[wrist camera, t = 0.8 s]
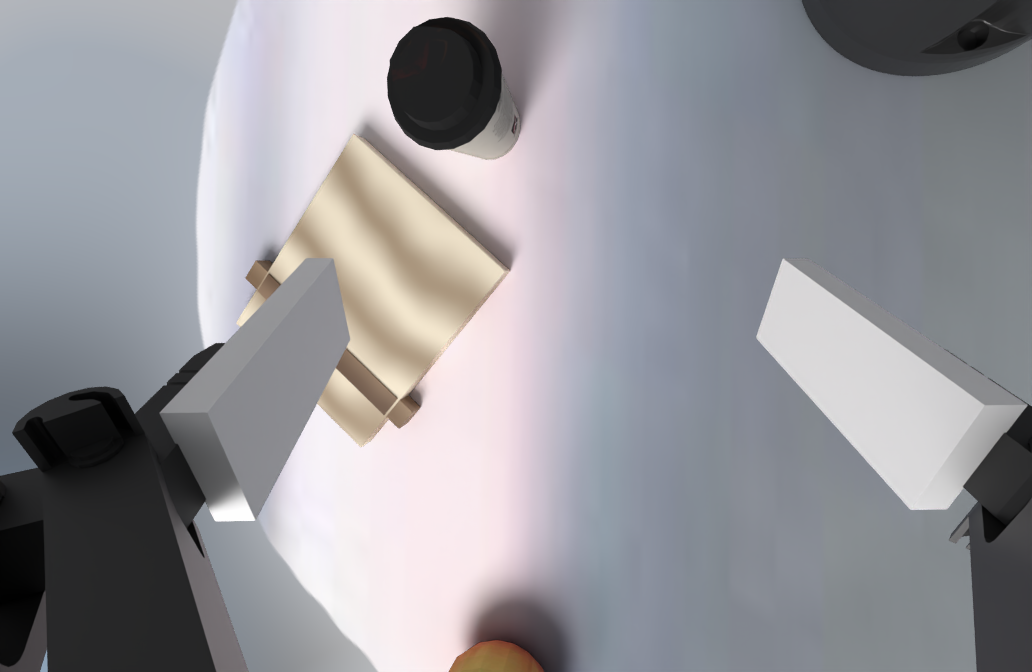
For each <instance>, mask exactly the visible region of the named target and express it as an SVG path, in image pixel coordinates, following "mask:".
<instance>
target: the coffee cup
mask: <svg viewBox="0 0 1032 672" xmlns="http://www.w3.org/2000/svg"><path fill="white" fill-rule="evenodd" d="M387 87H388V99H389V102H390V105H391V108H392V111H393V114H394V117H395V120H396V121H397V123H398V124H399V126H400V127H401V129H402V130H403V132H404V133H405V134H406V135H407V136H408V137H410V138H411V139H412V140H413V141H415V142H416V143H417V144H419V145H421V146H424V147H427V148H431V149H434V150H446V149H448V150H452V151H455V152H459V153H463V154H466V155H470V156H474V157H478V158H481V159H485V160H492V159H497V158H500V157H502V156H504V155H505V154H507V153H508V152H509V151H510V150H511V149H512V148H513V146H514V145H515V143H516V142H517V139H518V136H519V133H520V118H519V115H518V111H517V109H516V106H515V104H514V102H513V99H512V97H511V94H510V92H509V90H508V87H507V85H506V82H505V80H504V78H503V75H502V69H501V65H500V62H499V59H498V55H497V52H496V49H495V47H494V46H493V44H492V43H491V42H490V40H489V39H488V37H487V36H486V34H485V33H484V32H483V31H481V30H480V29H478V28H477V27H476V26H474V25H473V24H471V23H470V22H467V21H463V20H459V19H455V18H450V17H444V18H437V19H430V20H428V21H426V22H424V23H422V24H420V25H418V26H416V27H413V28H412V29H411V30H410V31H409V32H408V33H407V34H406V35H405V36H404V37H403V38H402V39H401V40H400V41H399V43H398V45H397V47H396V49H395V51H394V53H393V55H392V57H391V59H390V67H389V72H388V76H387Z"/></svg>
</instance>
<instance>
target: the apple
mask: <svg viewBox="0 0 1032 672" xmlns="http://www.w3.org/2000/svg"><path fill="white" fill-rule="evenodd" d="M449 672H544V670H543V668H542V667H541V666H540V664H539V663H538V662H537V661H536V660H535V659H534V658H533V657H532V656H531V655H530V654H529V653H528V651H526V650H524V649H522V648H521V647H519V646H517V645H515V644H514V643H510V642H505V641H501V640H493V641H486V642H480V643H478V644H476V645H475V646H473V647H472V648H470V649H469V650H467V651H466V652H464V653H463V654H461V655H460V656H458V657H457V658H456V660H455V661H454V663H453V665H452V667H451V668H450V670H449Z"/></svg>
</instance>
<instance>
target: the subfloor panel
mask: <svg viewBox="0 0 1032 672" xmlns="http://www.w3.org/2000/svg"><path fill="white" fill-rule="evenodd" d="M306 258H333V259H334V263H335V268H336V273H337V278H338V283H339V287H340V292H341V297H342V302H343V307H344V311H345V316H346V321H347V326H348V330H349V335H350V341H349V343H348V345H347V347H346V349H345V351H344V353H343V355H342V357H341V359H340V360H339V362H338V364H337V366H336V368H335V370H334V372H333V374H332V376H331V378H330V380H329V381H328V383H327V385H326V387H325V389H324V391H323V393H322V395H321V397H320V399H319V400H318V402H317V404H318V405H319V406H320V407H321V408H322V409H323V410H324V411H325V412H326V413H327V414H328V415H329V416H330V417H331V418H332V419H333V420H334V421H335V422H336V423H337V424H338V425H339V426H340V427H341V428H342V429H343V430H344V431H345V432H346V433H347V434H348V435H349V436H350V437H351V438H352V439H353V440H354V441H355V442H356V443H357V444H358V445H359V446H360V447H362V446H364V445H365V444H367V443H368V442H370V441H371V440H372V439H373V438H374V436H375V435H376V434H377V433H378V432H379V430H380V429H381V428H382V427H383V425H384V424H385V423H386V422H387V421H388V419H389V420H390V421H391V422H393V423H394V424H395V425H396V426H397V427H398V428H401V427H402V426H404V425H405V424H407V423H408V422H409V421H410V419H411V418H412V417H413V416H414V415H415V413H416V412H417V411H418V410H419V409H420V408H421V407H420V406H419V405H418V404H417V403H416V402H415V401H414V400H413V399H412V398H411V397H410V396H409V394H410V392H411V391H412V390H413V389H414V388H415V386H416V385H417V384H418V383H419V382H420V380H421V379H422V378H423V377H424V375H425V374H426V373H427V372H428V371H429V369H430V368H431V367H432V366H433V364H434V363H435V362H436V361H437V360H438V358H439V357H440V356H441V355H442V353H443V352H444V351H445V350H446V349H447V347H448V346H449V345H450V344H451V342H452V341H453V340H454V339H455V338H456V336H457V335H458V334H459V333H460V332H461V330H462V329H463V328H464V327H465V325H466V324H467V323H468V322H469V321H470V319H471V318H472V317H473V316H474V314H475V313H476V312H477V311H478V310H479V308H480V307H481V306H482V305H483V303H484V302H485V301H486V300H487V299H488V297H489V296H490V295H491V294H492V293H493V291H494V290H495V289H496V288H497V286H498V285H499V284H500V283H501V282H502V280H503V279H504V278H505V277H506V275H507V274H508V273H509V272H510V270H509V269H508V268H507V267H506V266H504V265H503V264H502V263H501V262H500V261H499V260H498V259H497V258H496V257H495V256H493V255H492V254H491V253H490V252H489V251H488V250H487V249H486V248H485V247H483V246H482V245H481V244H480V243H479V242H478V241H477V240H476V239H475V238H474V237H472V236H471V235H470V234H469V233H468V232H467V231H466V230H465V229H464V228H463V227H461V226H460V225H459V224H458V223H457V222H456V221H455V220H454V219H453V218H451V217H450V216H449V215H448V214H447V213H446V212H445V211H444V210H443V209H442V208H440V207H439V206H438V205H437V204H436V203H435V202H434V201H433V200H432V199H431V198H429V197H428V196H427V195H426V194H425V193H424V192H423V191H422V190H421V189H419V188H418V187H417V186H416V185H415V184H414V183H413V182H412V181H411V180H410V179H408V178H407V177H406V176H405V175H404V174H403V173H402V172H401V171H400V170H399V169H397V168H396V167H395V166H394V165H393V164H392V163H391V162H390V161H389V160H387V159H386V158H385V157H384V156H383V155H382V154H381V153H380V152H379V151H378V150H376V149H375V148H374V147H373V146H372V145H371V144H370V143H369V142H368V141H367V140H365V139H364V138H362V137H359V136H357V135H355V134H353V136H352V137H351V139H350V140H349V142H348V144H347V145H346V147H345V148H344V150H343V152H342V153H341V155H340V156H339V158H338V160H337V161H336V163H335V165H334V166H333V168H332V169H331V171H330V173H329V174H328V176H327V177H326V179H325V181H324V182H323V184H322V185H321V187H320V189H319V190H318V192H317V194H316V195H315V197H314V198H313V200H312V202H311V203H310V205H309V206H308V208H307V210H306V211H305V213H304V215H303V216H302V218H301V219H300V221H299V223H298V224H297V226H296V227H295V229H294V231H293V232H292V234H291V235H290V237H289V239H288V240H287V242H286V244H285V245H284V247H283V248H282V250H281V252H280V253H279V255H278V256H277V258H276V260H275V261H274V263H273V264H272V263H271V262H270V261H255V263H254V265H253V266H252V268H251V270H250V271H249V273H248V275H247V276H246V279H247V280H248V281H249V282H250V283H251V284H252V285H253V286H254V287H255V288H256V289H257V290H256V292H255V293H254V295H253V297H252V298H251V300H250V302H249V303H248V305H247V306H246V308H245V310H244V311H243V313H242V314H241V316H240V318H239V319H238V321H237V324H238V325H239V326H240V327H241V326H242V325H243V324H244V323H245V322H246V321H247V320H248V319H249V318H250V317H251V316H252V315H253V314H254V313H255V312H256V311H257V310H258V308H259V307H260V306H261V305H262V304H263V303H264V302H265V301H266V300H267V299H268V298H269V297H270V296H271V295H272V294H273V293H274V292H275V291H276V290H277V288H278V287H279V286H280V285H281V284H282V283H283V282H284V281H285V280H286V279H287V278H288V277H289V276H290V275H291V274H292V273H293V272H294V271H295V270H296V268H297V267H298V266H299V265H300V264H301V263H302V262H303V261H304V260H305V259H306Z"/></svg>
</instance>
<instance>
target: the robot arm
mask: <svg viewBox="0 0 1032 672" xmlns="http://www.w3.org/2000/svg"><path fill="white" fill-rule="evenodd" d="M802 2H803V5H804V8H805V10H806V13H807V15H808V17H809V19H810V21H811V23H812V24H813V26H814V27H815V29H816V30H817V32H818V33H819V34H820V35H821V37H822V38H823V39H824V40H825V41H826V42H827V43H828V44H829V45H830V46H831V47H832V48H833V49H835V50H836V51H837V52H838V53H840V54H841V55H843V56H844V57H846V58H847V59H849V60H851V61H852V62H854V63H857V64H859V65H861V66H863V67H866V68H869V69H871V70H875V71H879V72H882V73H888V74H893V75H902V76H929V75H938V74H945V73H950V72H955V71H959V70H963V69H967V68H970V67H973V66H976V65H979V64H982V63H985V62H987V61H989V60H992V59H994V58H997V57H999V56H1001V55H1003V54H1005V53H1007V52H1009V51H1011V50H1012V49H1014V48H1016V47H1018V46H1020V45H1021V44H1023V43H1025V42H1027V41H1028V40H1030V39H1032V0H802ZM756 338H757V339H758V340H759V342H760V343H761V344H762V345H763V346H764V347H765V348H766V349H767V350H768V352H769V353H770V354H771V355H772V356H773V357H774V358H775V359H776V360H777V362H778V363H779V364H780V365H781V366H782V367H783V368H784V369H785V371H786V372H787V373H788V374H789V375H790V376H791V377H792V378H793V379H794V381H795V382H796V383H797V384H798V385H799V386H800V387H801V388H802V389H803V391H804V392H805V393H806V394H807V395H808V396H809V397H810V398H811V399H812V401H813V402H814V403H815V404H816V405H817V406H818V407H819V408H820V409H821V411H822V412H823V413H824V414H825V415H826V416H827V417H828V418H829V419H830V421H831V422H832V423H833V424H834V425H835V426H836V427H837V428H838V430H839V431H840V432H841V433H842V434H843V435H844V436H845V437H846V438H847V440H848V441H849V442H850V443H851V444H852V445H853V446H854V447H855V448H856V450H857V451H858V452H859V453H860V454H861V455H862V456H863V457H864V458H865V460H866V461H867V462H868V463H869V464H870V465H871V466H872V467H873V468H874V470H875V471H876V472H877V473H878V474H879V475H880V476H881V477H882V478H883V480H884V481H885V482H886V483H887V484H888V485H889V486H890V487H891V489H892V490H893V491H894V492H895V493H896V494H897V495H898V496H899V497H900V499H901V500H902V501H903V502H904V503H905V504H906V505H907V506H908V507H909V509H910V510H930V509H948V507H949V506H950V505H951V504H952V502H953V501H954V500H955V498H956V497H957V496H958V495H959V493H960V492H961V491H962V489H963V488H965V489H966V490H967V491H968V492H969V493H970V494H971V495H972V496H973V497H974V498H975V499H976V500H978V502H977V503H976V504H975V506H974V507H973V508H972V509H971V511H970V512H969V513H968V514H967V515H966V517H965V518H964V519H963V520H962V522H961V523H960V524H959V525H958V526H957V528H956V529H955V530H954V531H953V533H952V534H951V536H950V539H949V541H951V542H953V543H957V541H958V540H959V539H960V538H961V537H963V536H970V543H969V544H968V545H967V547H966V548H967V549H969V550H970V554H971V572H972V591H973V609H974V627H975V646H976V664H977V672H1032V406H1030V405H1029V404H1027V403H1026V402H1024V401H1023V400H1021V399H1020V398H1018V397H1017V396H1015V395H1013V394H1012V393H1010V392H1009V391H1007V390H1006V389H1004V388H1003V387H1001V386H1000V385H998V384H997V383H995V382H994V381H992V380H991V379H989V378H987V377H985V376H984V375H983V374H982V373H980V372H979V371H977V370H976V369H974V368H973V367H971V366H969V365H967V363H965V362H964V361H962V360H961V359H959V358H958V357H956V356H955V355H953V354H952V353H950V352H949V351H947V350H945V349H943V348H942V347H940V346H939V345H937V344H936V343H934V342H933V341H931V340H930V339H928V338H927V337H925V336H924V335H922V334H921V333H919V332H918V331H916V330H915V329H913V328H912V327H910V326H909V325H907V324H906V323H904V322H903V321H901V320H900V319H898V318H897V317H895V316H894V315H892V314H891V313H889V312H888V311H886V310H885V309H883V308H882V307H880V306H879V305H877V304H876V303H874V302H873V301H871V300H870V299H868V298H867V297H865V296H864V295H862V294H861V293H859V292H858V291H856V290H855V289H853V288H852V287H850V286H849V285H847V284H846V283H844V282H843V281H841V280H840V279H838V278H837V277H835V276H834V275H832V274H831V273H829V272H828V271H826V270H825V269H823V268H822V267H820V266H819V265H817V264H816V263H814V262H813V261H811V260H810V259H783V260H782V263H781V266H780V269H779V272H778V275H777V278H776V281H775V283H774V286H773V289H772V292H771V295H770V298H769V301H768V304H767V307H766V310H765V313H764V316H763V319H762V322H761V325H760V328H759V331H758V334H757V337H756ZM349 341H350V335H349V330H348V326H347V321H346V316H345V311H344V307H343V302H342V297H341V292H340V287H339V283H338V278H337V273H336V268H335V263H334V259H333V258H306V259H305V260H304V261H303V262H302V263H301V264H300V265H299V266H298V267H297V268H296V270H295V271H294V272H293V273H292V274H291V275H290V276H289V277H288V278H287V279H286V280H285V281H284V282H283V283H282V284H281V285H280V286H279V287H278V288H277V290H276V291H275V292H274V293H273V294H272V295H271V296H270V297H269V298H268V299H267V300H266V301H265V302H264V303H263V304H262V305H261V306H260V307H259V308H258V310H257V311H256V312H255V313H254V314H253V315H252V316H251V317H250V318H249V319H248V320H247V321H246V322H245V323H244V324H243V325H242V326H241V327H240V328H239V330H238V331H237V332H236V333H235V334H234V335H233V336H232V337H231V338H230V339H229V340H228V341H227V342H226V343H215V344H214V345H212V346H210V347H208V348H207V349H205V350H203V351H201V352H200V353H198V354H196V355H194V356H193V357H192V358H191V359H190V360H189V361H188V362H187V363H186V364H185V365H184V366H183V367H182V368H181V369H180V370H179V373H176V374H175V375H174V376H173V377H172V378H171V379H170V380H169V381H168V382H167V386H163V387H162V388H161V389H160V390H159V391H158V392H157V393H156V394H155V395H154V396H153V397H152V398H151V399H150V400H149V401H148V402H147V403H146V404H145V405H144V406H143V407H142V408H140V409H139V410H138V411H137V412H136V413H135V414H134V412H133V411H132V409H131V407H130V405H129V403H128V402H127V400H126V398H125V396H124V395H123V394H122V393H121V391H119V389H115V388H110V387H94V388H87V389H82V390H78V391H74V392H70V393H67V394H64V395H62V396H59V397H57V398H54V399H52V400H49V401H47V402H45V403H44V404H42V405H40V406H38V407H37V408H35V409H33V410H31V411H30V412H29V413H27V414H26V415H25V416H24V417H23V418H22V419H21V420H19V421H18V422H17V424H16V426H15V428H14V430H13V432H12V433H13V435H14V436H15V438H16V439H17V440H18V441H19V443H20V444H21V445H22V447H23V448H24V449H25V450H26V452H27V453H28V455H29V456H30V457H31V459H32V460H33V461H34V462H35V464H36V465H37V466H38V468H35V469H30V470H25V471H21V472H16V473H11V474H7V475H3V476H0V672H40V670H41V666H42V663H43V660H44V656H45V653H46V650H47V658H48V672H249V671H248V668H247V666H246V663H245V660H244V657H243V654H242V651H241V649H240V646H239V643H238V640H237V637H236V634H235V631H234V628H233V626H232V623H231V620H230V617H229V614H228V612H227V608H226V606H225V603H224V600H223V597H222V594H221V591H220V588H219V586H218V583H217V580H216V577H215V574H214V571H213V568H212V566H211V563H210V560H209V557H208V554H207V551H206V548H205V546H204V543H203V540H202V537H201V534H200V532H199V529H198V527H197V526H196V524H195V522H194V520H193V519H194V517H195V516H196V514H197V513H198V511H199V510H200V508H201V507H202V505H203V503H204V502H206V504H207V506H208V508H209V510H210V512H211V514H212V516H213V517H214V520H215V521H255V520H256V519H257V517H258V515H259V513H260V511H261V509H262V507H263V505H264V503H265V501H266V500H267V498H268V496H269V494H270V492H271V490H272V488H273V486H274V484H275V482H276V480H277V479H278V477H279V475H280V473H281V471H282V469H283V467H284V465H285V463H286V461H287V460H288V458H289V456H290V454H291V452H292V450H293V448H294V446H295V444H296V442H297V440H298V439H299V437H300V435H301V433H302V431H303V429H304V427H305V425H306V423H307V421H308V420H309V418H310V416H311V414H312V412H313V410H314V408H315V406H316V404H317V402H318V400H319V399H320V397H321V395H322V393H323V391H324V389H325V387H326V385H327V383H328V381H329V380H330V378H331V376H332V374H333V372H334V370H335V368H336V366H337V364H338V362H339V360H340V359H341V357H342V355H343V353H344V351H345V349H346V347H347V345H348V343H349Z"/></svg>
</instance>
